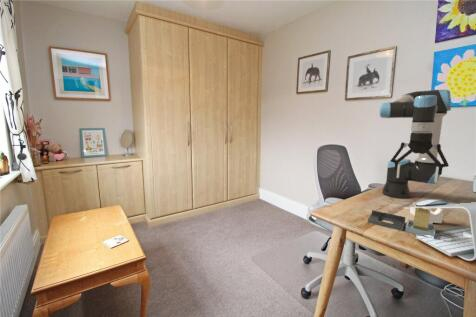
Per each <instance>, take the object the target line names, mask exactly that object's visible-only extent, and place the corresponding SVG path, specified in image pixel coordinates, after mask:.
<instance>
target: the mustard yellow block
mask: <svg viewBox="0 0 476 317" xmlns="http://www.w3.org/2000/svg"><path fill="white" fill-rule="evenodd" d="M417 207H418V208H416V210H415V216H414V217H413V221H414V225H413V228H414V229H418V230H423V231H428V224H429V217H430V210H431V209H429V208H428V209H429V210H428V209H424V208H419V207H420V206H417Z"/></svg>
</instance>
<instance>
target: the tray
mask: <svg viewBox="0 0 476 317" xmlns="http://www.w3.org/2000/svg"><path fill="white" fill-rule="evenodd" d="M413 225H414V219H413V220H412V219H407V221H406V224H405V232H406V233H410V234H412V235H417V234H425V235H431V236H435V237H436V225H435V224H428V230H432V229H433V233H431V232H427V231H423V230H418V229H414V228H413Z"/></svg>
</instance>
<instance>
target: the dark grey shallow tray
mask: <svg viewBox="0 0 476 317" xmlns="http://www.w3.org/2000/svg"><path fill="white" fill-rule="evenodd" d="M386 221H388V222H386ZM392 222H393V223H392ZM367 223H369V224H373V225H377V226H381V227H385V228H389V229H393V230H397V231H400V232H403V231H404V228H405V225H406V224H405V223H406V217H405V216H402V215H396V214H393V213H388V212H383V211H378V210H374V209H372V210H371V214H370V216H369V217H368V219H367Z"/></svg>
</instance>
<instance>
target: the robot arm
mask: <svg viewBox="0 0 476 317" xmlns="http://www.w3.org/2000/svg"><path fill="white" fill-rule="evenodd" d="M451 98H452V97H451V91H450V90H448V89H434V90H420V91H419V90H417V91H412V92H408V93H405V94H402V95H400V96H399V97H397V98H396V100H394V101H393V102H392V101H390V102H383V103H381V105H380V107H379V117H380V118H382V119H399V118H400V119H401V118H403V119H405V118H407V119H408V118H409V119H411V126H410V128H411V133H410V135H409V137H410V138H409V142H408V143H407V142H404V141H402V142H401V144H400V146H399V148H398V149H397V151H396V153H395V154H394V155H393V156H392V158H391V159H390V160H389V161H388V163H387V172H386V181H385V183H384V185H383V187H382V190H381V193H382V194H383V196H387V197H390V198H391V197H392V198H394V199H395V198H396V199H409V198H410V197H411V191H410V190H411V189H410V187H409V182H416V183H422V184H423V183H425V184H431V185H432V184H433V185H435V184H437V183H438V182H439V179H440V176H441V175H442V174H443V173H442V172H443V169H444V168H447V167H449V166H450V165H449V162H448V160H447V158H446V156H445V154H444V153H443V151H442V145H441V144H440V140H441V139H440V138H441V131H442V127H443V125H442V124H443V118H444V117H445V116H446V115H447V114H448V112H449V111H452V110H451V109H452V105H451V104H452V101H451V100H452V99H451ZM407 147H409V150H408V151H406V152H404V154H402V155H401V156H400V157H398V156H399V155H400V154H401V152H402V151H403V149H404V148H407ZM412 153H413V154H418V157H416V159H415V160H414V162H413V161H411V159H408V158H406V157H408V156H409V155H410V154H412ZM438 155H439V156H438ZM438 157H440V158H441V161H440V160H439V159H438Z"/></svg>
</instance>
